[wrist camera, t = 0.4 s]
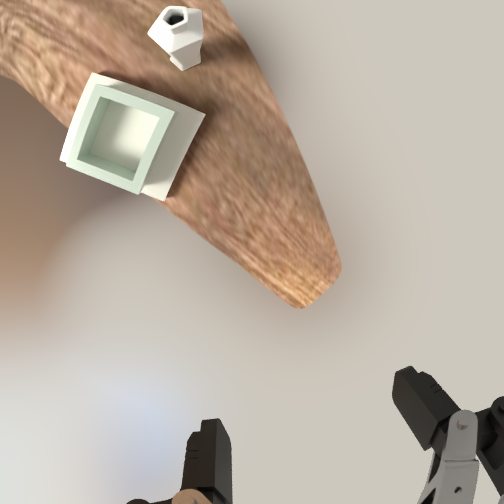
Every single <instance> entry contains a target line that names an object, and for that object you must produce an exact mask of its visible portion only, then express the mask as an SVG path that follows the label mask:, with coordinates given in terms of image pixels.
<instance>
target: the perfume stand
mask: <svg viewBox="0 0 504 504" xmlns="http://www.w3.org/2000/svg"><path fill="white" fill-rule="evenodd" d="M205 115H206V114H204V113H202V112H200V111H197V110H195V109H193V108H190V107H188V106H186V105H183V104H181V103H178V102H176V101H174V100H171V99H169V98H166V97H163V96H161V95H158V94H156V93H153V92H150V91H148V90H145V89H142V88H139V87H136V86H134V85H131V84H128V83H125V82H122V81H119V80H115V79H112V78H109V77H106V76H102V75H99V74H96V73H92V74H91V76H90V78H89V80H88V82H87V85H86V87H85V89H84V91H83V94H82V96H81V99H80V101H79V104H78V106H77V109H76V111H75V114H74V117H73V119H72V122H71V125H70V128H69V131H68V134H67V137H66V140H65V143H64V147H63V150H62V153H61V157H60V160H61V161H64V162H66V163H67V164H66V166H67V167H70V168H73V169H75V170H77V171H80V172H83V173H85V174H88V175H90V176H93V177H95V178H98V179H100V180H103V181H105V182H108V183H110V184H113V185H115V186H118V187H120V188H123V189H125V190H128V191H130V192H133V193H135V194H138V195H139V193H140V192H142V193H144V194H147V195H149V196H152V197H154V198H156V199H159V200H161V201H165V198H166V196H167V193H168V191H169V189H170V187H171V184H172V182H173V180H174V178H175V175H176V173H177V171H178V169H179V167H180V164H181V162H182V160H183V158H184V156H185V154H186V152H187V150H188V148H189V146H190V144H191V142H192V140H193V138H194V136H195V134H196V132H197V130H198V128H199V126H200V124H201V122H202V120H203V118H204V117H205Z"/></svg>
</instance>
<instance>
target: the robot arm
mask: <svg viewBox="0 0 504 504" xmlns="http://www.w3.org/2000/svg"><path fill="white" fill-rule="evenodd" d="M392 398H393V401H394V404H395V405H396V407H397V408H398V410H399V411H400V413H401V415H402V416H403V418H404V419H405V421H406V422H407V424H408V426H409V427H410V429H411V430H412V432H413V433H414V435H415V437H416V438H417V440H418V441H419V443H420V444H421V446H422V448H423V449H424V451H426V450H427V449H429V448H431V447H432V448H433V449H434V453H433V457H432V461H431V466H430V470H429V473H428V477H427V481H426V484H425V487H424V490H423V492H422V493H421V496H420V498H419V501H418V503H417V504H472V503H473V499H474V494H475V489H476V483H477V477H478V471H479V461H478V460H476V459H475V455H477V456H478V458H479V459H480V461H481V463H482V464H483V466H484V468H485V470H486V471H487V473H488V475H489V476H490V478H491V480H492V482H493V484H494V485H495V487H496V489H497V491H498V492H499V495H500V496H501V498H500V500H499V502H498V504H504V396H502V397H499V398H497V399H496V400H495V401H494V402H493V404H492V405H491V407H490V408H487V409H484V410H482V411H479V412H475V413H473V412H472V411H469V410H461V409H460V408H459V407H458V406H457V405H456V404H455V402H454V401H453V400H452V399H451V398H450V397H449V395H448V394H447V393H446V392H445V391H444V390H442V388H441V386H440V385H439V384H437V382H436V381H435V379H434V378H433V377H432V376H431V375H429V374H427V373H424V372H423V371H422V372H420V373H417V371H416V370H415V369H414V368H413V367H412V366H408V367H406V368H404V369H401V370H399V371H397V372H396V373H395V377H394V385H393V391H392ZM231 461H232V456H231V442H230V438H229V436H228V434H227V432H226V430H225V428H224V426H223V424H222V422H221V420H220V419H218V418H217V419H209V420H202V423H201V430H200V431H199V432H193V433H192V434H191V436H190V437H189V439H188V441H187V447H186V455H185V462H184V470H183V478H182V486H181V489H180V491H179V492H178V493H177V494H176V495H175V496H174V497H173V498H171V499H168V500H165V501H160V502H154V503H149V502H147V501H145V500H143V499H134V500H131V501H129V502H128V503H127V504H232V462H231Z"/></svg>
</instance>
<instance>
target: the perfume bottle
mask: <svg viewBox="0 0 504 504" xmlns="http://www.w3.org/2000/svg"><path fill="white" fill-rule="evenodd" d="M148 35H149V36H150V37H151V38H152V39H153V40H154V41H155V42H156V43H158V44H159V45H160V46H161V47H162V48H163V49H164V50H165V51H166V52H167V53H168V54H169V55H170V56H171V57H170V61H172V62H173V63H174V64H175V65H176V66H177V67H178V68H179V69H180V70H182V71H184V70H186V69H188V68H191V67H193V66H195V65H197V64H199V63H201V56H200V48H201V44H202V41H203V37H204V33H203V23H202V13H201V10H199V9H191V8H186V7H182V6H168V7H167V8H165V9H164V10H163V12H162V13H161V14H160V16H159V17H158V19H157V20H156V21H155V23H154V24H153V26H152V27H151V28H150V30H149V31H148Z"/></svg>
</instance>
